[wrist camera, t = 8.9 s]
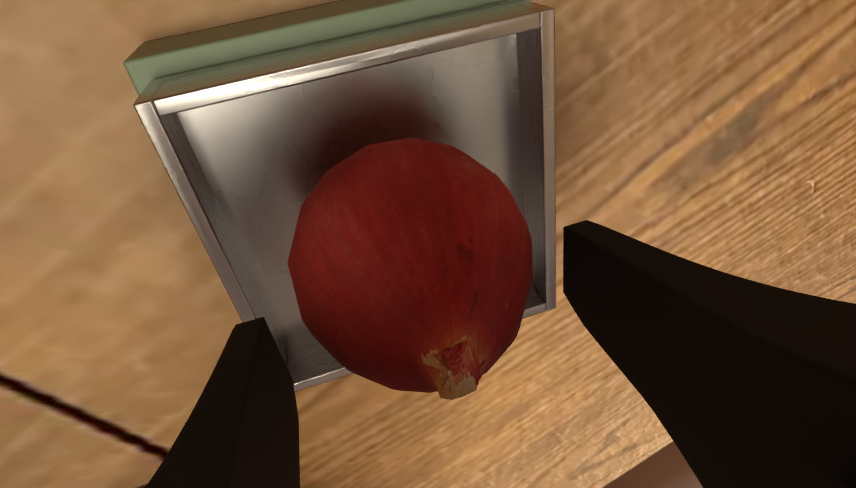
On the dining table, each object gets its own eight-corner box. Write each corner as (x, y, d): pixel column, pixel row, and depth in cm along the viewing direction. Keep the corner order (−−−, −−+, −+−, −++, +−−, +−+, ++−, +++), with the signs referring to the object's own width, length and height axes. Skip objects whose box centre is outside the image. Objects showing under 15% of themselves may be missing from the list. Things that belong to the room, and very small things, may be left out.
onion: (506, 171, 16) (673, 337, 10) (397, 297, 18) (478, 516, 11) (362, 56, 13) (462, 187, 6) (245, 222, 14) (231, 462, 8)
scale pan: (531, 275, 20) (556, 308, 18) (278, 353, 18) (280, 397, 16) (519, -3, 14) (555, 7, 12) (149, 79, 12) (131, 104, 11)
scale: (519, 243, 22) (545, 276, 20) (268, 318, 21) (269, 361, 19) (504, -35, 16) (539, -29, 14) (141, 42, 14) (120, 61, 12)
